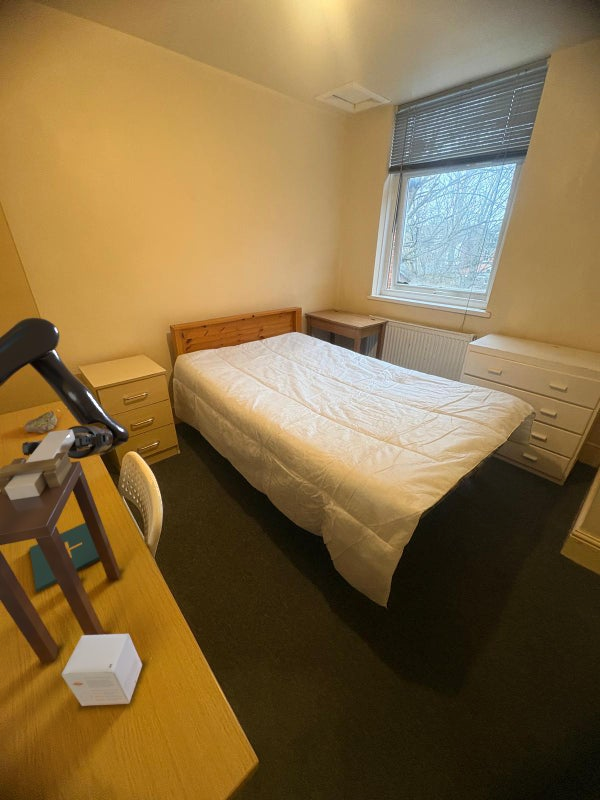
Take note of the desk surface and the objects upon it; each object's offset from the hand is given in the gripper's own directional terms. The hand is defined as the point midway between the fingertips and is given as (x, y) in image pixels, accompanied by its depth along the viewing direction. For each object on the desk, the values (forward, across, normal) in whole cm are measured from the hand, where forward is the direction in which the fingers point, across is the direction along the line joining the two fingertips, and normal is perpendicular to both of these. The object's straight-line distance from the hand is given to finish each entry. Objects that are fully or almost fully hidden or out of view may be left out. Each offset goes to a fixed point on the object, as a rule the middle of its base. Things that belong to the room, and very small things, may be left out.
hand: (52, 445), depth 61 cm
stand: (-7, 0, +35) cm, 36 cm away
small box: (+6, +8, +43) cm, 44 cm away
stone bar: (+2, 0, +4) cm, 4 cm away
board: (-22, -8, +27) cm, 36 cm away
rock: (-83, -38, -8) cm, 91 cm away
